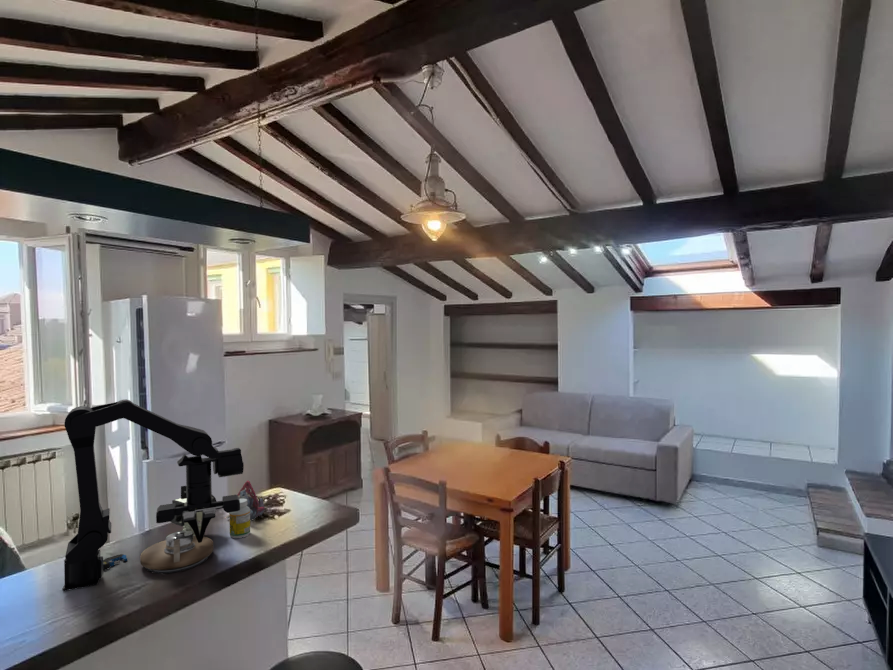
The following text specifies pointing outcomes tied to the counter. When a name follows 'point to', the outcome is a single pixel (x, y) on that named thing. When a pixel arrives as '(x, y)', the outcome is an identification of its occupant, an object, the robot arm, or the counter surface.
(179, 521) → the pneumatic valve
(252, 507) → the brake caliper
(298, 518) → the counter surface
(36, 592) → the counter surface
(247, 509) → the supplement bottle
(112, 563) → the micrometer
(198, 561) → the turntable base
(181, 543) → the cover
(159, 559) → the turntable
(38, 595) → the counter surface
